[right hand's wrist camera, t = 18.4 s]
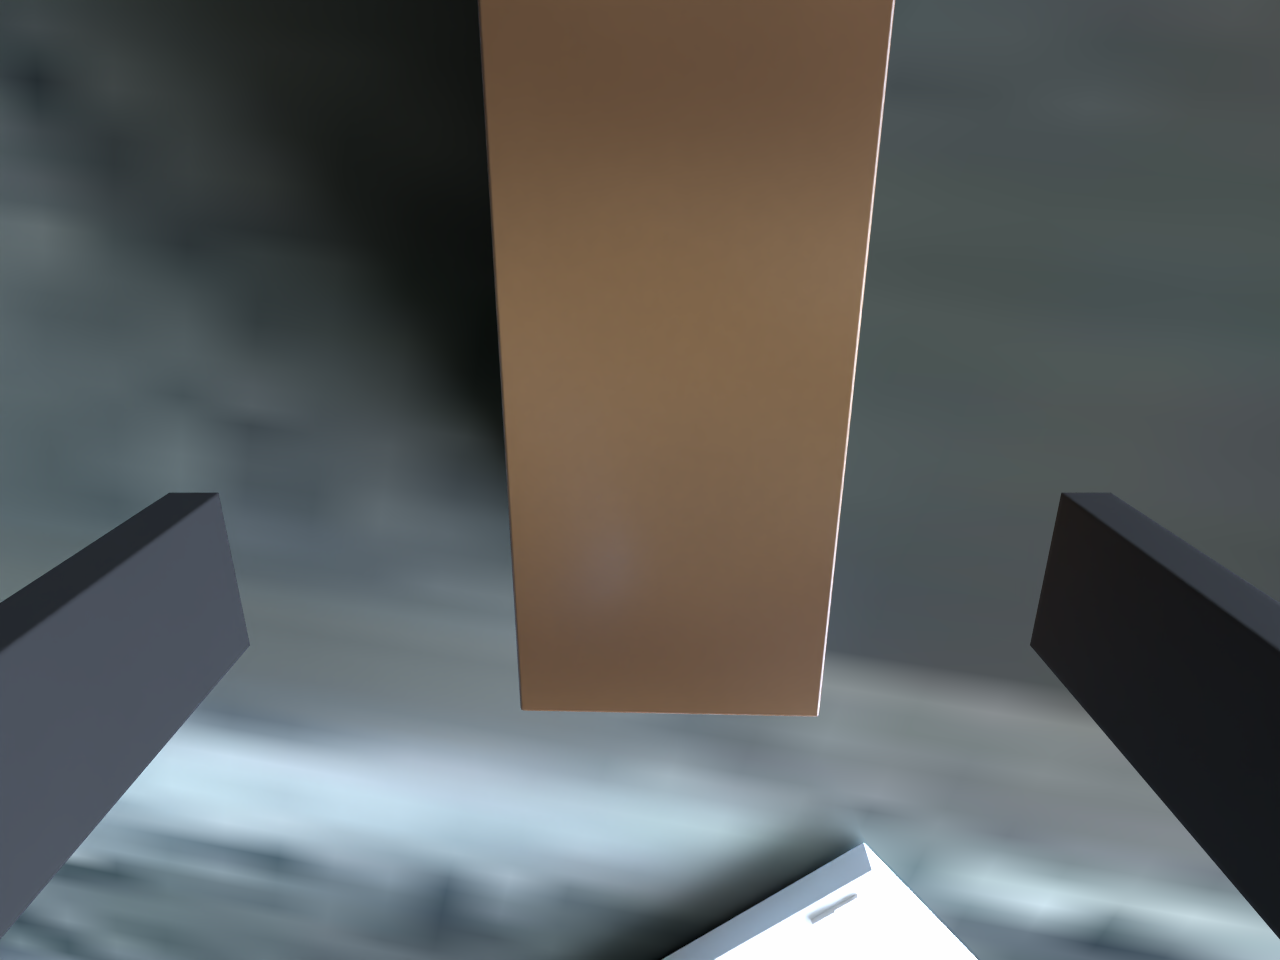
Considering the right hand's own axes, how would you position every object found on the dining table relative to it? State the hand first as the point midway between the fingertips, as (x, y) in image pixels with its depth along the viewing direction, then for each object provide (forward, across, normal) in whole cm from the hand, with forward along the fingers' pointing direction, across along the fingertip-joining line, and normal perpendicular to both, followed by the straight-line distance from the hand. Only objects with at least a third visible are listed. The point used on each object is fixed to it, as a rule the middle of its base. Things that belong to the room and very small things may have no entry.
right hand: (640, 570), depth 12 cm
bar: (+10, -1, -8) cm, 13 cm away
